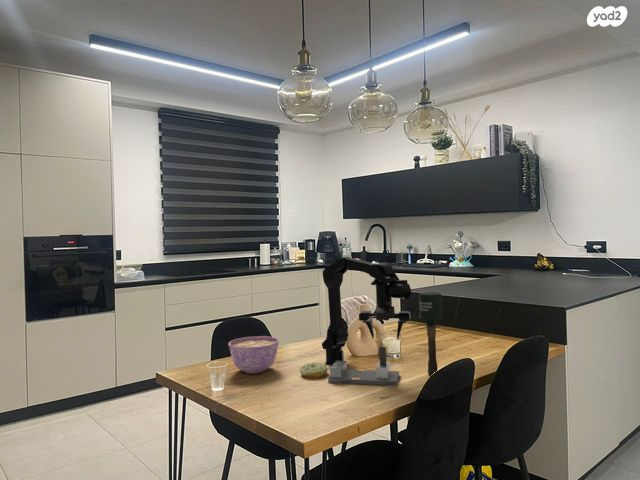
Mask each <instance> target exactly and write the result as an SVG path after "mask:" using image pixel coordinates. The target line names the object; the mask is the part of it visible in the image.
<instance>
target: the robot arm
mask: <svg viewBox="0 0 640 480" xmlns="http://www.w3.org/2000/svg"><path fill="white" fill-rule="evenodd" d="M349 269H351V270H354V271H358V272H362V273H366V274H368V275H369V277H371V278H373V281H371V283H370V285H371V286H375V299H376V303H375V304H376V306H375V309H374V310H375V311H374V313H373V312H372V310H362V311H361V312H360V313H359V314H358V321H360V322H362V323H363V324H365V325H366V327H367V328H368V329H369V330H368V331H369V333H370V335H371V336H370V337H372V340H374V339H375V331H374V322H373V319H375V321H389V320H390V319H398V321H397V332H396V339H397V340H399V338H400V335H401V330H402V327H403V325H404V324H406V323H407V322H408V321H409V322H410V321H411V312H410V311H408V310H399V311H398V313H397V312H396V311H395V306H394V305H393V301H392V300H393V299H403V300H408V299H410V297H411V294H412V289H411V285H410V284H409V283H408V280H407V279H399V277H398V275H397V273H396V272H395V271H394V269H393V266H392V265H391V264H390V263H387V262H384V263H383V262H376V263H375V262H374V263H373V262H369V261H365V260H362V259H357V258H354V257H350V256H342V257H340V258H339V259H338V260H336V261H335V262H333V263H332V264H330V265H329V266H327V267H325V268H324V269H323V270H322V279H323V282H324V283H323V284H324V285H325V286H326V288H327V295H328V296H327V297H328V308H329V310H328V311H329V312H328V313H329V324H328V328H327V331H326V338H325V339H324V340H323V342H322V343H321V347H322V349H323V350H325V362H324V364H325V365H333V364H334V363H335V362H336V361H345V360H344V359H345V357H344V350H343V347H346V342H347V341H348V338H349V331H348V330H349V328H348V326H345V325H344V323H343V314H342V301H341V299H342V298H341V286H342V283H343V280H344V274H346V272H348V270H349ZM392 298H393V299H392ZM395 312H396V313H395Z"/></svg>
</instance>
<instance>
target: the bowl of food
mask: <svg viewBox="0 0 640 480" xmlns="http://www.w3.org/2000/svg"><path fill="white" fill-rule="evenodd" d="M279 341H280V340H279V339H278V338H277V337H275V336H269V335H268V336H266V335H260V336H259V335H258V336H257V335H256V336H245V337H240V338H235V339H232V340H230V341H228V349H229V352H230V356H231V359H232V362H233V365H234V366H235V367H236V368H237V369H239V370H240V371H243V372H245V374H246V373H247V374H259V373H263V372H265V371H266V370H268V369H269V368H271V366H273V364H274V363H275V361H276V358H277V353H278V348H279Z"/></svg>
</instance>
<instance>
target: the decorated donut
mask: <svg viewBox="0 0 640 480" xmlns="http://www.w3.org/2000/svg"><path fill="white" fill-rule="evenodd" d="M299 372H300V374H301V376H302V377H305V378H306V379H319V378H323V377H324V376H325V375H326V374H327V373H328V366H327V364H325V363H321V362H309V363H304V364H302V365H301V366H299Z"/></svg>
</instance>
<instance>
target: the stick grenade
mask: <svg viewBox="0 0 640 480" xmlns="http://www.w3.org/2000/svg"><path fill="white" fill-rule="evenodd" d="M418 299H419V300H418V301H419V316H418V319H420V320H424V321H425V322H426V335H427V345H428V346H427V349H428V361H427V362H428V363H427V375H428V376H429V377H432V376H431V375H432V374H433V373H434V372H436V371H437V370H438V362H437V347H436V345H437V343H436V336H437V327H436V326H437V320H438V321H439V320H442V319H444V316H443V311H442V310H443V307H442V305H443V304H442V293H440V292H437V291H436V292H433V291H431V292H430V291H429V292H428V291H427V292H421V293H419V294H418ZM438 371H439V370H438Z"/></svg>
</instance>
